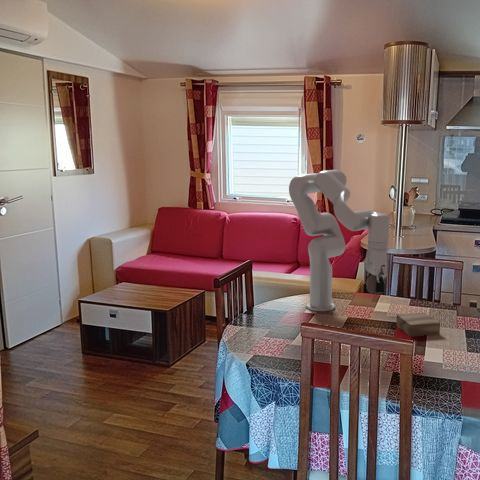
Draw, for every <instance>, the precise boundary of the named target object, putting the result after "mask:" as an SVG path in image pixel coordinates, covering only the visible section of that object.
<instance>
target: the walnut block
mask: <svg viewBox="0 0 480 480" xmlns="http://www.w3.org/2000/svg"><path fill="white" fill-rule="evenodd" d="M395 321H396V323H395V325H396V327H397V328H398V329H400V330H401V331H403V332H404V334H406V335H407V336H408V337H410V338H411V337H425V336H424V335H426V336H437V335H439V336H440V333H441V330H440V329H441V322H440V321H438V320H437V319H435V318H434V317H432V316H431V315H429V314H428V313H426V312H417V313H401V314H399V313H398V314H396V320H395Z"/></svg>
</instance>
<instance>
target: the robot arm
mask: <svg viewBox="0 0 480 480" xmlns="http://www.w3.org/2000/svg"><path fill="white" fill-rule="evenodd" d="M347 181H348V180H347V176H346V174H345V173H344V172H343V171H341V170H339V169H329V170H327V169H326V170H322V171H319V172H317V173H304V174H303V173H302V174H298V175H296V176H293V178H292V179H290V181H289V185H288V193H289V198H290V200H291V202H292V203H293V206H294V207H295V209H296V212H297V214H298V218H299V220H300V222H301V225H302V228H303V230H304V233H305V234H306V235H307V236H311V237H315V236H319V237H315V238H313V239H312V240H311V241H310V242H309V243H308V246H307V252H308V256H309V269H310V270H309V301H308V302H307V303H306V304H305V305H306V306H305V307H306V308H307V309H308V310H310V311H314V312H330V311H333V310H334V309H335V307H336V305H335V304H334V302H332V299H333V298H332V296H333V294H332V293H333V292H332V291H333V289H332V288H333V267H332V264H331V262H330V259H329V258H335V257H339V256H342V254H344V252H345V250H346V241H345V239H344V235H343V234H342V231H341V229H340V225H339V223H338V221H339V222H340V223H341V225H342V226H343V227H345V228H346V230H349V231H351V232H357V231H362V230H368V238H367V239H368V240H367V241H368V242H367V249H366V254H365V263H364V270H365V271H366V272H367V273H366V277H367V279H368V278H369V276H370V275H371V274H372V275H374V276H377V282H376V292H377V293H378V292H382V293H384V292H385V283H386V280H387V278H388V276H389V275H388V273H387V272H388V249H389V234H390V222H391V221H390V215H389V214H387V213H383V212H377V211H374V210H372V209H364V210H357V211H353V210H352V209H351V208H350V207H349V206H348V204H347V202H348V201H349V199H350V197H351V191H350V189H349V188H348V187H346V185H347ZM314 193H315V194H317V193H322V194H323V195H324V196H325V198H327V199H328V201H330V203H332V205H333V212H334V215H335V216H334V215H333V214H331V213H330V212H321V213H320V211H319V210H318V208H317V206H316V203H315V201H314V200H313V199H312V198H311V197H310V196H309V195H308V194H314ZM321 235H323V236H321ZM379 273H380V274H379ZM379 276H382V277H381V278H379ZM367 279H366V280H367Z"/></svg>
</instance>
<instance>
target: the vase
mask: <svg viewBox="0 0 480 480" xmlns="http://www.w3.org/2000/svg"><path fill="white" fill-rule="evenodd" d="M379 274H381V273H379ZM381 277H382V276H379V278H381ZM376 282H377V276H374V275H372V274H371V275H370V276H369V278H368V279H366V282H365V283H366V290H367V292H368V293H369V294H371V295H374V296H376V295H377V296H378V295H380V294H382V293H383V292H378V293H377V292H376Z"/></svg>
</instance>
